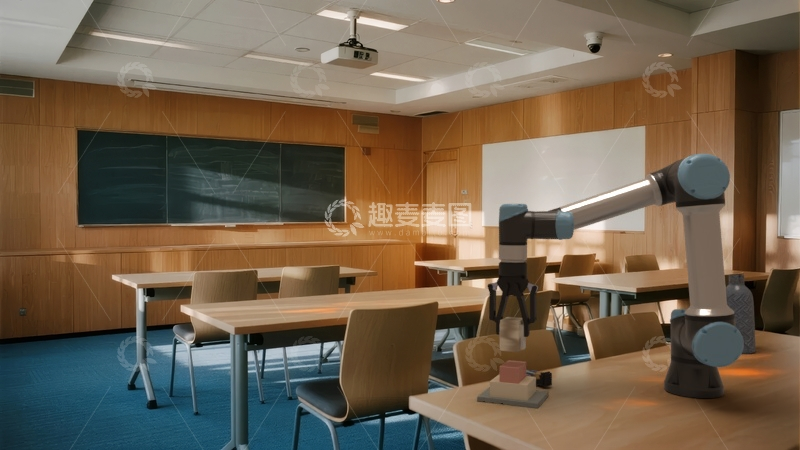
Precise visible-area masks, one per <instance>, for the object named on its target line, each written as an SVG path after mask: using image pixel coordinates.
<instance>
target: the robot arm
mask: <svg viewBox="0 0 800 450" xmlns="http://www.w3.org/2000/svg"><path fill="white" fill-rule="evenodd" d="M730 180H731V174H730V169H729V168H728V166H727V164H726V163H725V162H724V161H723V160H722V159H721V158H719V157H718V156H716V155H713V154H710V153H695V154H691V155H689V156H687V157H684V158H681V159H678V160H675V162H673V163H670V164H668V165H667V166H664V167H662V168H661V169H659V170H655V171H653V172H651V173H647V174H646V176H645V178H644V179H641V180H637V181H634V182H631V183H629V184H625V185H622V186H619V187H616V188H613V189H610V190H608V191H603V192H601V193H599V194H596V195H592V196H588V197H586V198H584V199H580V200H578V201H574V202H572V203H571V202H570V203H568V204H565V205H562V206H559V207H556V208H552V209H550V210H547V211H545V210H543V211H542V210H541V211H540V210H539V211H537V210H536V211H535V210H534V211H533V210H529V209H528V205H527V204H526V203H502V204H501V206H500V207H499V213H498V259H499V261H500V262H498V278H497V281H496V282H491V283H488V284H487V289H488V292H489V296H488V297H489V301H488V302H489V303H488V304H489V306H488V307H489V309H488V319H489V321H493V322H494V323H495V334H496V335H498V336H500V320H502V319H504V314H505V312H506V311H505V310H506V309H507V308H506V307H507V303H508V300H509V297H511V296H513V297H516V300H517V303H518V306H519V307H518V308H519V310H520V315H521V318H522V319H523V324H522V325H521V351H524V350H525V349H526V347H527V345H526V342H527V340H526V339H527V338H528V337H530V333H531V332H530V330H531V329H530V326H531V324H534V323H536V322H537V321H538V318H537V313H538V312H537V311H538V310H537V293H538V291H539V285H538V284H532V283H530V282H529V281H530V280H529V279H528V263H527V262H526V261H527V260H528V240H559V241H561V240H571V239H572V238H573V235H574V232H575V230H579V229H582V228H584V227H588V226H591V225H594V224H597V223H600V222H604V221H606V220H609V219H610V220H611V219H612V218H615V217H619V216H622V215H625V214H628V213H631V212H634V211H638V210H640V209H644V208H647V207H650V206H653V205H654V206H657V207H661V206H665V205H668V204H673V203H675V209H676V210H677V211H679V213H680V214H681V215H682V221H683V232H684V233H683V234H684V245H685V257H686V258H685V259H686V269H687V270H686V271H687V283H688V293H689V306H688V308H684V309H681V308H680V309H679V308H675V309H673V310H672V311H671V312H670V319H669V323H670V364H669V366H668V369H667V373H666V375H665V378H664V380H663V389H664V390H665V391H666V392H667V393H670V394H673V395H676V396H682V397H686V398H687V397H688V398H696V399H697V398H698V399H715V398H721V397H723V396H724V394H725V386H724V384H723V380H722V378H721V374H720V372H719V369H718V368H722V367H727V366H730V365H732V364H734V363H735V362H736V361H737V360H739V358H740V357H741V356H742V355H743V354H742V351H743V348H744V341H743V337H742V335H741V333H740V331H739V330H738V329H737V328H736V325H735V314H734V311H733V310H732V309H731V308H729V307H728V305H727V298H726V286H727V285H726V277H725V276H726V275H725V263H724V251H723V243H722V242H723V239H722V228H721V226H722V225H721V216H720V212H721V210H722V209H724V207H725V206H726V197H725V196H726V195H725V192H726V190H727V189H728V187H729V184H730ZM498 288H499V289H500V290H501V296H500V302H499V306H498V309H497V290H498ZM527 288H528V292H529V312H528V308H527V303H526V300H525V293H524V292H525V291H526V290H527ZM499 349H500V341H499Z"/></svg>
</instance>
